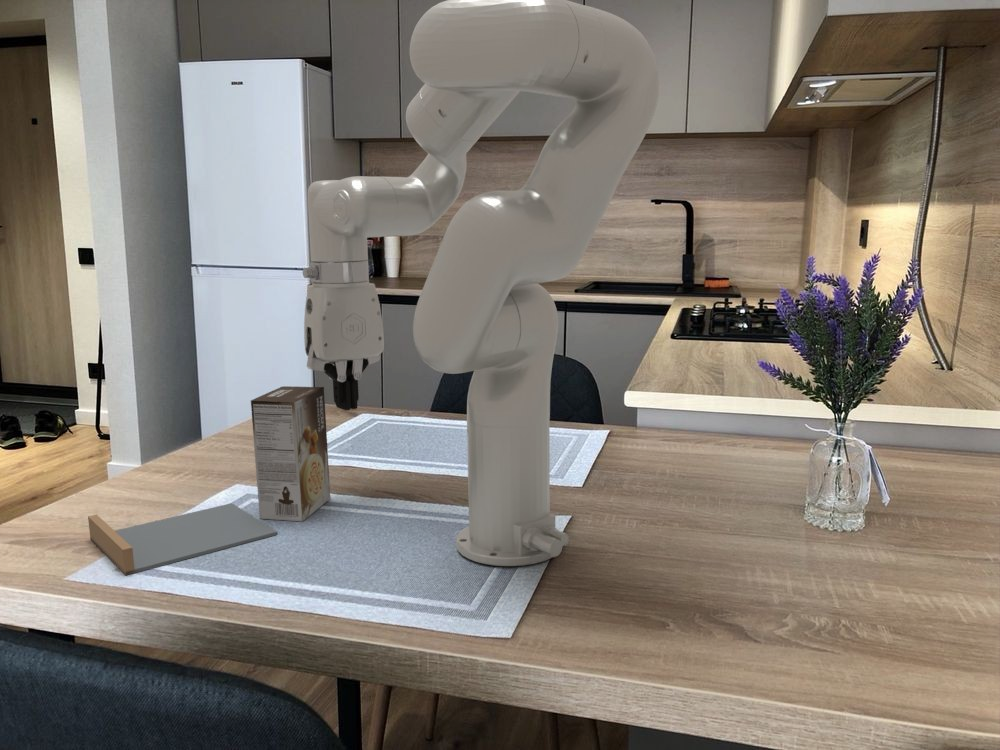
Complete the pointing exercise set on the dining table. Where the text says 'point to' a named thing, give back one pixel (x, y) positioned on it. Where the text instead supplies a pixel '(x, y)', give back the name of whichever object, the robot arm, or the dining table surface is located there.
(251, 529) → the board
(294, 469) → the food box
